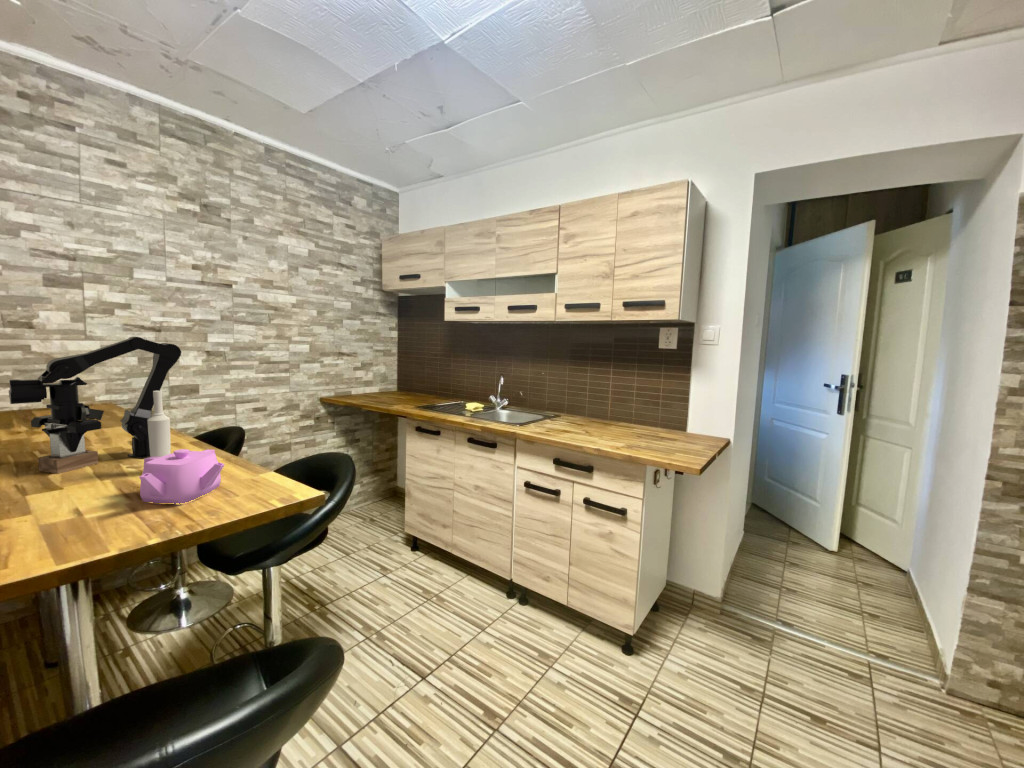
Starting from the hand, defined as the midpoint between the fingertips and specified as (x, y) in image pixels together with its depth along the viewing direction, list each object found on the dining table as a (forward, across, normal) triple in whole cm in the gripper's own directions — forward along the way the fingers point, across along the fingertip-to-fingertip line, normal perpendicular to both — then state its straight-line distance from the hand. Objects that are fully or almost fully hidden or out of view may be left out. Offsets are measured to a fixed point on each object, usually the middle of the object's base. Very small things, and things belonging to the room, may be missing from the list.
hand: (68, 451), depth 122 cm
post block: (+5, 0, 0) cm, 5 cm away
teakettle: (+5, -49, +5) cm, 50 cm away
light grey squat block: (+3, 0, 0) cm, 3 cm away
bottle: (+5, -27, -6) cm, 28 cm away
